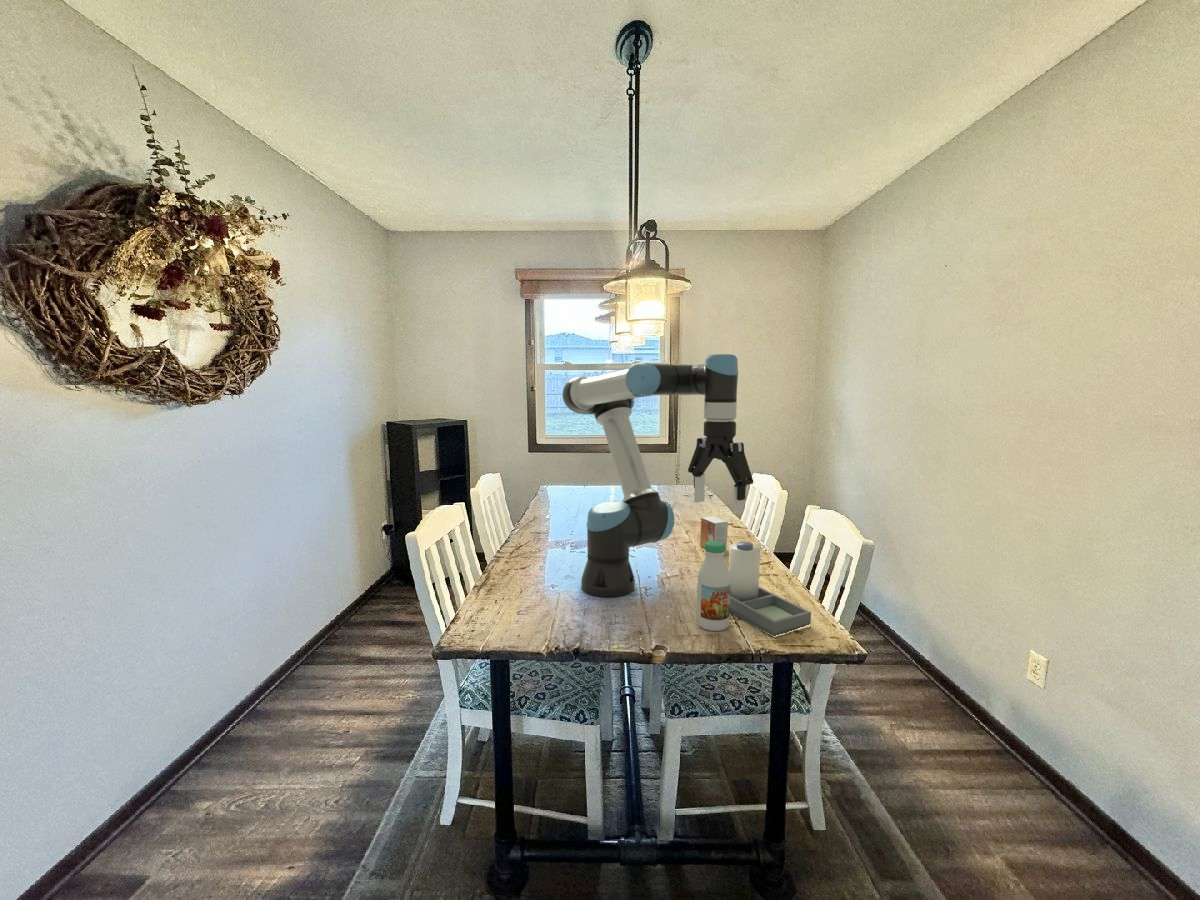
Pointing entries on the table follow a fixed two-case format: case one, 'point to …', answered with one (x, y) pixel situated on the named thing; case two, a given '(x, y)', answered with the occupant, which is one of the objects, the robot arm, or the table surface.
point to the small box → (713, 530)
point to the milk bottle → (713, 589)
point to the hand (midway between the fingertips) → (717, 507)
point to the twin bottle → (744, 570)
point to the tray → (771, 613)
